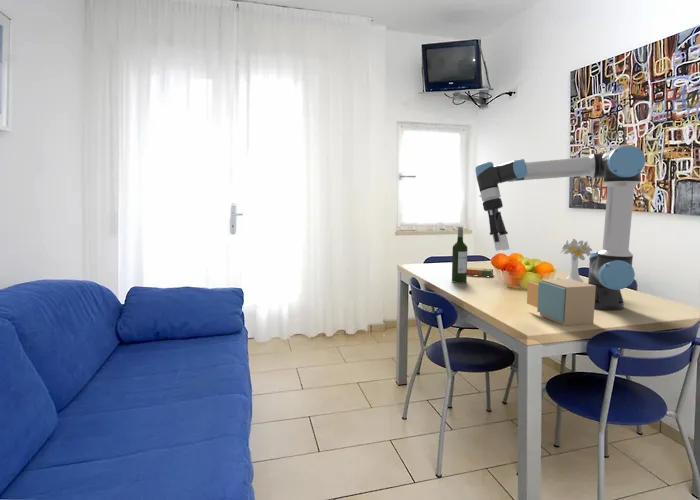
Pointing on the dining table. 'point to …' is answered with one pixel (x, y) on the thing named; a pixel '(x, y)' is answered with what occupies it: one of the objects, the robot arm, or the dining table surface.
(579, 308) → the kraft box
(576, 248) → the flower vase
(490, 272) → the carton
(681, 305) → the dining table surface
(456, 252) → the wine bottle
